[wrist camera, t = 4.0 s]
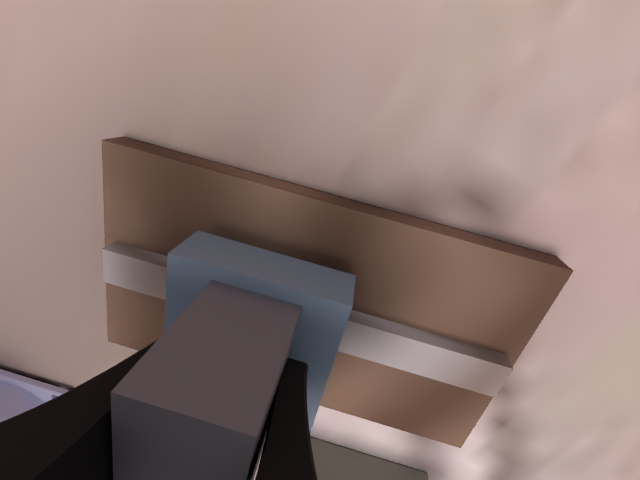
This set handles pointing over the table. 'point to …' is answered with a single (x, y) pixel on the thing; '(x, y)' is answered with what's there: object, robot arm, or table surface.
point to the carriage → (225, 359)
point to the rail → (347, 256)
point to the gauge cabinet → (356, 465)
